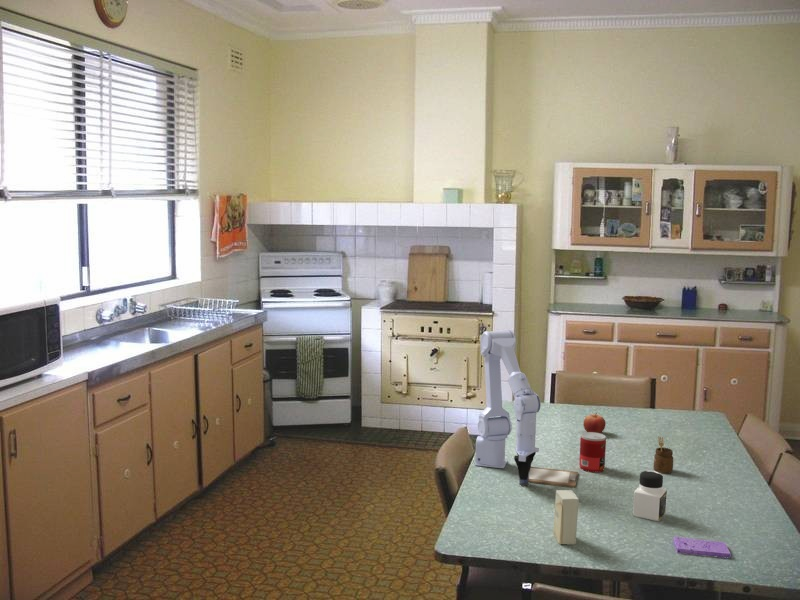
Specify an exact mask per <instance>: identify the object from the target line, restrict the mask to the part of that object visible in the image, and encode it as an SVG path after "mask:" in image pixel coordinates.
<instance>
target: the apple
mask: <svg viewBox="0 0 800 600" xmlns="http://www.w3.org/2000/svg"><path fill="white" fill-rule="evenodd" d="M606 426H607V425H606V420H605V418H604V417H603V416H601V415H599V414H597V412H595V413H593V414H589V415H587V416H585V418H584V419H583V428H584V430H585V432H595V433H600V434H603V432H604V430H605V429H606Z"/></svg>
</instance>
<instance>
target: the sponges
mask: <svg viewBox="0 0 800 600" xmlns="http://www.w3.org/2000/svg"><path fill="white" fill-rule="evenodd" d="M672 538H673V540H672V541H673V544H674V547H676V548H675V551H676V553H677V554H683V553H686V554H685V555H693V554H695V555H694V556H703V555H706V556H705V557H711V556H717V557H716V558H721V557H726V558H725V559H728V558H727V557H730V558H731V556H732V555H731V552H730V550H729V548H728V546H727V544H726V542H724V541H716V540H715V541H714V540H705V539H699V538H696V539H695V538H691V537H690V538H689V537H688V538H687V537H681V536H673V537H672Z"/></svg>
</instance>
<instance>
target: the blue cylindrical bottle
mask: <svg viewBox="0 0 800 600" xmlns="http://www.w3.org/2000/svg"><path fill="white" fill-rule="evenodd" d="M518 485H519V486H520V485H521V486H520V487H524V486H526V487H528V485H530V483H529V473H528V478H527V480H521V479H520V478H519V482H518Z"/></svg>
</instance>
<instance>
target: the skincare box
mask: <svg viewBox="0 0 800 600" xmlns="http://www.w3.org/2000/svg"><path fill="white" fill-rule="evenodd" d="M579 500H580V499H579V497H578V496H577V495H576V494H575V492H574V491H573V490H572V489H556V490H555V502H554V503H555V504H554V515H553V516H554V517H553V519H554V520H553V531H552V535H553V536H554V539H555V540H556V541H557V543H558V545H561V544H567V545H576V544H577V543H576V541H577V529H578V528H577V527H578V518H579V517H578V516H579V515H578V514H579V502H580V501H579ZM561 546H562V545H561Z"/></svg>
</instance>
